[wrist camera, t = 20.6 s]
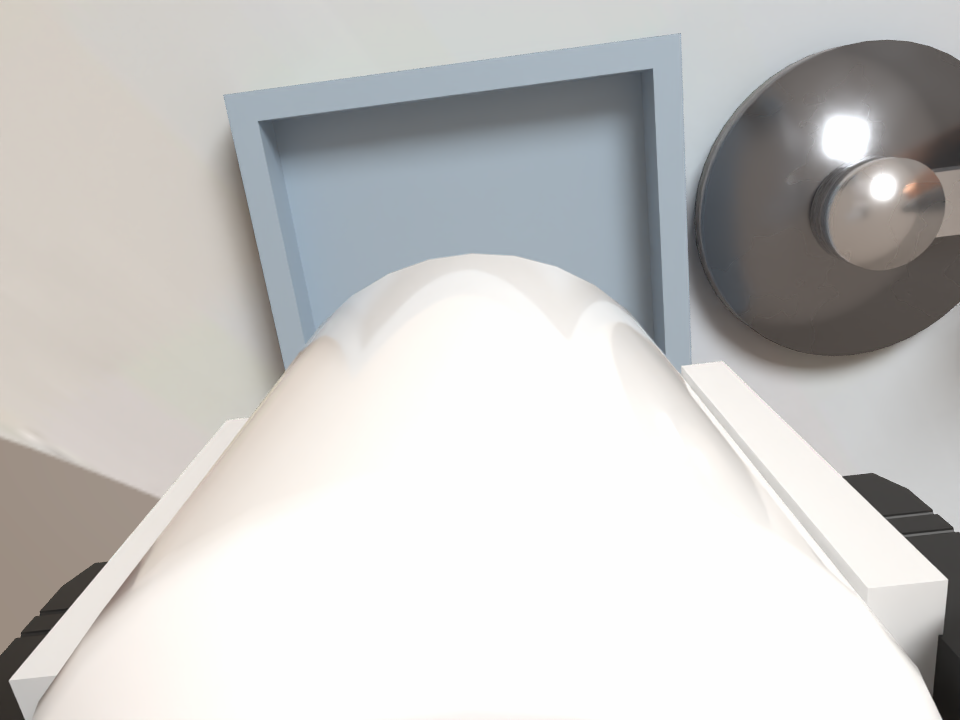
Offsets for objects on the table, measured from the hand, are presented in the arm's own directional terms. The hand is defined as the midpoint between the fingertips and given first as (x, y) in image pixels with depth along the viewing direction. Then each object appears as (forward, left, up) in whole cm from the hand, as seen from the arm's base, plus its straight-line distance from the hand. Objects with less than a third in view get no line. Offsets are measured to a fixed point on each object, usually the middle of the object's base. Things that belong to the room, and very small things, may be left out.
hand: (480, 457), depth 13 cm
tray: (0, 0, -17) cm, 17 cm away
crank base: (+15, +1, -17) cm, 23 cm away
